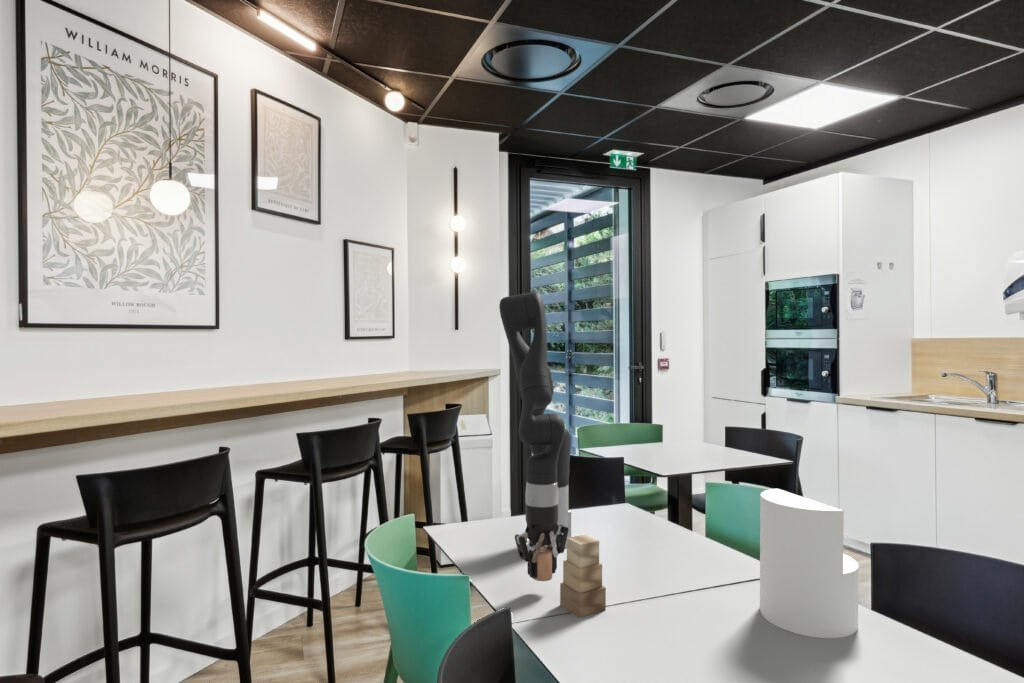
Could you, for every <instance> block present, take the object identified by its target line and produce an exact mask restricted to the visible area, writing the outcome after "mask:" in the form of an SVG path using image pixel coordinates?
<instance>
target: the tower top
mask: <svg viewBox="0 0 1024 683" xmlns="http://www.w3.org/2000/svg"><path fill="white" fill-rule="evenodd" d="M566 560H567V561H568V562H570V563H572V564H574V565H576V566H577V567H579V568H583V567H588V566H592V565H596V564H599V563H600V540H598V539H596V538H594V537H592V536H589V535H587V534H580V535H575V536H571V537H569V538H567V547H566Z"/></svg>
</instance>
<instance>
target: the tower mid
mask: <svg viewBox="0 0 1024 683" xmlns="http://www.w3.org/2000/svg"><path fill="white" fill-rule="evenodd" d="M562 561H563V564H562V565H563V566H562V570H563V572H562V573H563V574H562V580H563V581H562V583H563V584H565V585H567V586H569V587H570V588H572V589H574V590H575V591H577V592H579V593H582V592H586V591H590V590H594V589H598V588H601V587H602V586H603V563H601V562H599V564H596V565H592V566H588V567H583V568H579V567H577V566H576V565H574V564H572V563H570V562H568V561H567V559H564V560H562Z"/></svg>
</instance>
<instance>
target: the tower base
mask: <svg viewBox="0 0 1024 683" xmlns="http://www.w3.org/2000/svg"><path fill="white" fill-rule="evenodd" d="M559 586H560V587H559V589H560V590H559V599H560V600H559V603H560V604H559V605H560V606H561V607H562V608H563V609H565V610H567V611H568V612H570V613H571V614H573V615H575V616H576V617H577V618H583V617H587V616H591V615H594V614H597V613H601V612H604V611H606V609H607V607H606V604H607V603H606V602H607V600H606V598H607V597H606V595H607V594H606V592H607V591H606V590H607V588H606V587H605V586H603V585H602V587H601V588H598V589H594V590H590V591H586V592H582V593H579V592H577V591H575V590H574V589H572V588H570V587H569V586H567V585H565V584H563V582H560V585H559Z"/></svg>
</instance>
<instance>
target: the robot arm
mask: <svg viewBox="0 0 1024 683" xmlns="http://www.w3.org/2000/svg"><path fill="white" fill-rule="evenodd" d="M498 308H499V313H500V318H501V323H502V326H503V329H504V330H503V331H504V332H505V336H506V339H507V342H508V344H509V345H508V346H509V348H510V352H511V357H512V362H513V365H514V371H515V375H516V380H517V381H516V382H517V386H518V390H519V394H520V397H521V413H520V417H519V418H520V419H519V420H520V421H519V424H518V437H519V440H520V441H521V442H522V443H523V444H524V445H525V446H529V447H530V451H531V453H532V455H530V456H529V457H527V459H526V486H525V522H526V528H525V531H524V532H523V533H520V534H518V533H517V534H515V535H514V540H515V544H516V548H517V552H518V556H519V558H520V559H521V560H524V562H527V575H528V576H529V577H530V578H532V579H533V580H534V579H535V578H537V562H536V560H537V556H538V553H539V552H540V549H541V548H547V549H551V551H552V575H553V574H556V570H557V567H558V564H557V562H558V560H557V558H558V556H559V554H563V553H564V552H565V549H567V538H569V537H572V511H571V510H569V484H570V483H569V477H570V464H571V463H570V462H571V461H570V460H571V447H572V445H571V444H572V443H571V441H572V440H571V435H570V431H569V430H568V429H567V428H566V425H565V421H564V419H563V417H562V416H561V415H559V414H557V413H545V411H546V409H547V407H548V406H549V405H550V404H551V403H552V399H553V394H554V391H555V389H554V388H555V387H554V382H553V378H552V372H551V369H550V367H549V365H548V339H547V336H548V335H547V319H546V318H547V317H546V311H545V305H544V301H543V298H542V296H541V294H540V293H539V292H536V291H533V292H532V291H531V292H526V293H521V294H515V295H514V294H513V295H509V296H505V297H502V298H501V299H500V300H499V306H498ZM530 330H533V337H532V342H531V344H530V346H529V345H528V344H527V343H526V342H525V340H524V339H523V338H522V335H521V334H520V332H525V331H530Z"/></svg>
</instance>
